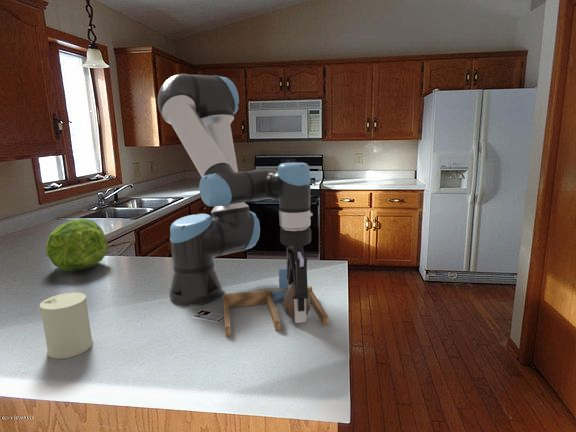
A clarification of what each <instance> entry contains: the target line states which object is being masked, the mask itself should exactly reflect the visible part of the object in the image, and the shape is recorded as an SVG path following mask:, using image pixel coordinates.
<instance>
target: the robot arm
mask: <svg viewBox="0 0 576 432" xmlns="http://www.w3.org/2000/svg"><path fill="white" fill-rule="evenodd" d="M239 97H240V96H239V92H238V89H237V87H236V85H235V84H234V82H233V81H232V80H231V79H230V78H228V77H225V76H219V75H216V74H213V75H206V74H187V73H178V74H175V75H172V76H170V77H169V78H168V79H166V80H165V81H164V82H163V84H162V85H161V86H160V89H159V92H158V94H157V107H158V111H159V113H160V114H161V116H162V118H163V120H164V121H165V122H166V123H168V124H169V125H171V126H172V128H173V130H174V131H175V133H176V135H177V137H178V138H179V141H180V142H181V144H182V145H183V147H184V149H185V151H186V153H187V154H188V156H189V158H190V159H191V161H192V162H193V164H194V166H195V168H196V170H197V171H198V173H199V175H200V177H201V178H200V181H199V186H198V189H199V191H198V192H199V194H200V198H201V200H202V203H204V205H206V206H208V207H213V208H212V210H211V211H210V214H211V215H210V214H207V213H198V214H190V215H186V216H182V217H180V218H178V219H176V220H174V221H173V222H172V223H171V225H170V227H169V229H170V230H169V231H170V237H169V240H170V245H171V246H170V247H171V254H172V265H173V266H172V268H173V275H172V279H171V282H170V287H169V290H168V291H169V299H170V301H171V302H172V303H174V304H177V305H183V306H194V305H195V306H196V305H202V304H207V303H210V302H213V301H215V300H217V299H218V298H220V297H221V295H223V285H222V282H221V280H220V278H219V275H218V274H217V270H216V268H215V258H216V257H221V256H226V255H229V254H234V253H239V252H241V253H242V252H244V251H246V250H249V249H252V248H253V247H255V246H256V245H257V242H258V241H259V238H260V235H261V234H260V233H261V226H260V220H259V218H258V217H257V215H256V213H255V212H253V211H251V210H250V206H249V205H248V204H247V203H248V202H249V203H250V202H257V201H262V200H275V201H278V204H279V205H278V206H279V207H278V209H279V210H278V218H279V220H278V221H279V226H280V229H279V238H280V239H279V241H280V243H281V244H282V245H283V246H285V249H286V268H287V280H288V283H289V284H290V285H289V288H290V286H291V284H292V283H293V282H294V286H295V296H293V297H292V298H293V299H294V307H295V319H294V323H295V324H299V323H306V322H307V315H306V298H308V286H309V285H308V269H307V268H308V259H307V257H306V256H307V255H306V251H305V250H304V246H307V245H308V244H309V245H310V243H311V242H312V229H311V227H310V226H311V222H312V221H311V217H313V212H311V182H312V179H311V173H310V165H309V164H308V163H306V162H294V161H293V162H283V163H280V164H279V165H278V166H277V167H278V168H277V169H275V168H274V169H273V168H272V169H271V168H268V167H264V168H261V167H260V168H256V169H254V170H248V171H239V169H238V164H237V156H236V152H235V146H234V140H233V133H232V127H231V124H232V122H233V121H234V120H235V116H234V115H236V114H237V112H238V111H239V104H240V98H239Z"/></svg>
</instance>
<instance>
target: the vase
mask: <svg viewBox="0 0 576 432" xmlns="http://www.w3.org/2000/svg"><path fill="white" fill-rule="evenodd" d="M293 296H295V286H294V282H293V283H292V284H291V286H290V288H289V289H288V290H287V292H286V293H285V296H284V300H283V303H282V305H283V309H284V312H285V314H286V315H287V316H288V317H289V318H290V319H292V320H295V307H294V299H293V298H292V297H293ZM311 306H312V305H311V300H310V296H309V294H308V298H306V316H307V315H309V312H310V311H311Z"/></svg>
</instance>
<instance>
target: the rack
mask: <svg viewBox="0 0 576 432" xmlns="http://www.w3.org/2000/svg"><path fill="white" fill-rule="evenodd" d="M288 289H289V288H282V289H279V288H273V289H263V290H253V291H243V292H232V293H224V294H223V293H222V298H223V299H222V300H223V315H224V332H225V337H231V336H232V333H231V332H232V331H231V320H230V309H229V308H235V307H246V306H254V305H255V306H256V305H266V306H267V309H268V311H269V315H270V317H271V321H272V325H273V329H274V331H275V332H279V331H281V319H280V316H279V314H278V310H277V308H276V305H275V304H283V300H284V296H285V293H286V292H287V290H288ZM308 294H309V296H310V300H311V306H312V309H313V311H314V312H315V313H316V315H317V317H318V319H319V321H320V323H321V325H322V326H328V325H329V317H328V316H329V315H328V313H327V312H326V311H325V309H324V307H323V306H322V304H321V302H320V300H319V299H318V298H317V295H316V294H315V293H314V291H313V286H312V285H308Z"/></svg>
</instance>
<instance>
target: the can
mask: <svg viewBox="0 0 576 432" xmlns="http://www.w3.org/2000/svg"><path fill="white" fill-rule="evenodd" d="M87 301H88V300H87V294H85V293H83V292H75V291H74V292H65V293H60V294H57V295H56V294H55V295H52V296H50V297H49V298H46V299H44V300H43V301H41V302H40V304H39V309H40V313H41V314H40V315H41V319H42V324H43V330H44V338H45V342H46V350H47V352H46V354H47V356H48V357H49V358H51V359H56V360H57V359H58V360H59V359H68V358H69V359H70V358H72V357H76V356H79V355H81V354H83V353H84V352H86V351H88V350H90V348H91V347H92V346H93V345H94V340H93V336H92V332H91V325H90V324H91V323H90V318H89V310H88V304H87V303H88V302H87Z"/></svg>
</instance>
